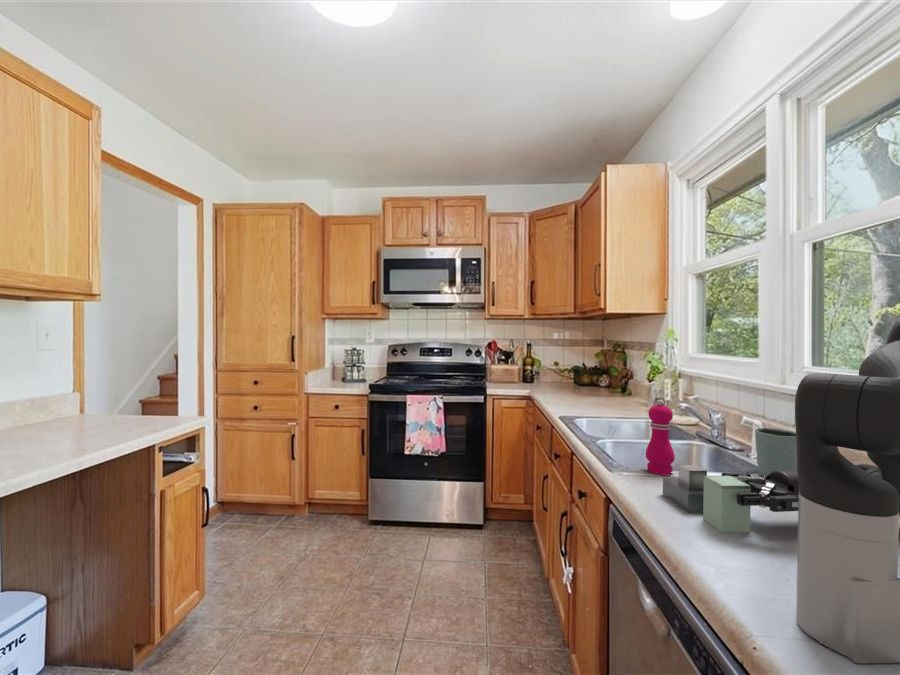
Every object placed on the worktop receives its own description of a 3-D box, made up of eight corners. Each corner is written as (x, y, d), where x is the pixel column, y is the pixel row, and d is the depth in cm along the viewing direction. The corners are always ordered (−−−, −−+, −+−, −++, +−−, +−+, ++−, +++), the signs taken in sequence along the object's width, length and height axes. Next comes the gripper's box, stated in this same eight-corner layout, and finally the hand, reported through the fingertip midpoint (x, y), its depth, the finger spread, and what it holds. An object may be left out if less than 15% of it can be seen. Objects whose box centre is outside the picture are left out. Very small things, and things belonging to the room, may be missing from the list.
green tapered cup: (779, 484, 106) (780, 437, 106) (744, 471, 116) (745, 428, 116) (811, 481, 108) (812, 435, 108) (774, 468, 118) (775, 426, 118)
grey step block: (724, 512, 89) (725, 475, 89) (688, 512, 89) (688, 475, 89) (695, 494, 99) (696, 460, 99) (662, 494, 99) (663, 460, 99)
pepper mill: (680, 474, 113) (681, 400, 113) (661, 477, 111) (662, 402, 110) (658, 466, 120) (659, 396, 120) (639, 469, 117) (640, 398, 117)
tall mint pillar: (749, 532, 80) (750, 485, 80) (721, 532, 80) (722, 485, 80) (729, 519, 86) (730, 475, 86) (703, 519, 86) (703, 475, 86)
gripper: (773, 460, 91) (700, 460, 90) (835, 484, 76) (749, 485, 76) (772, 494, 91) (699, 495, 90) (835, 525, 77) (749, 526, 76)
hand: (722, 490), depth 83 cm, fingers open, 8 cm apart
